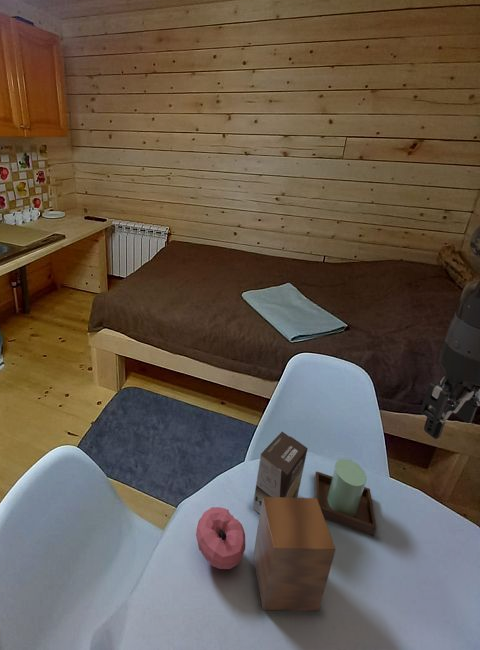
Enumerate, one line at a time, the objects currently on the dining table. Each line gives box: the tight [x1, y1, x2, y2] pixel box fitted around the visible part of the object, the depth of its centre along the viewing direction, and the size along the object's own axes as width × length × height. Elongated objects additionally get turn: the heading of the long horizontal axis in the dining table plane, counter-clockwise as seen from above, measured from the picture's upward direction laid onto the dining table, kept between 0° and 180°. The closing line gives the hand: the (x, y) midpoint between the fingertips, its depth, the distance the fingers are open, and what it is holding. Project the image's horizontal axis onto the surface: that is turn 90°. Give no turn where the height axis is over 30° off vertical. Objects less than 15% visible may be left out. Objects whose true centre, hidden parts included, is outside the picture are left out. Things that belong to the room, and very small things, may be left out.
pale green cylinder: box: [327, 458, 368, 517], centre depth 76 cm, size 6×6×10 cm
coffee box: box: [252, 431, 308, 515], centre depth 75 cm, size 9×6×16 cm
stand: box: [252, 497, 337, 612], centre depth 61 cm, size 10×8×17 cm
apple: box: [195, 506, 246, 570], centre depth 66 cm, size 10×9×10 cm
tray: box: [313, 470, 377, 537], centre depth 77 cm, size 12×9×3 cm
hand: (447, 426), depth 58 cm, fingers open, 8 cm apart
